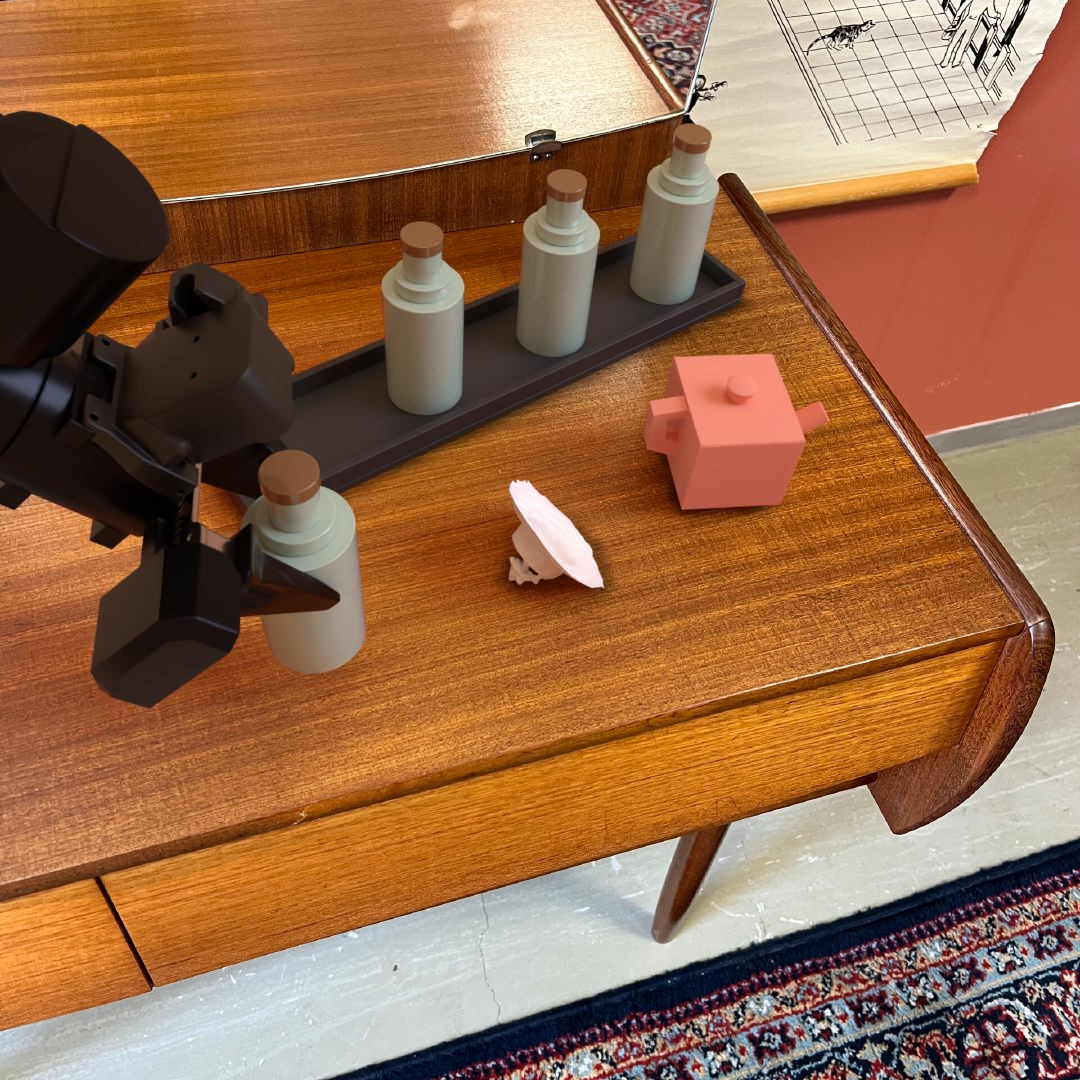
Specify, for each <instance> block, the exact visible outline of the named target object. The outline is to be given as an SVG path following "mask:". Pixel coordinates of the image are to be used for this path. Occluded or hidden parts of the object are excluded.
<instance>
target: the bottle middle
mask: <svg viewBox="0 0 1080 1080" xmlns="http://www.w3.org/2000/svg"><path fill="white" fill-rule="evenodd" d="M587 187H588V181H587V178H586V176H585V175H583V174H582V173H580V172H578V171H577V170H573V169H567V168H565V169H564V168H562V169H556V170H553V171H551V172H549V174H548V175H547V177H546V183H545V191H546V200H545V201H546V202H545V205H542V206H541V207H540V208H539V209H538V210H537V211H535V212H533V213H531V214H530V215H529V216H528V217H527V218H526V219H525V221H524V223H523V226H522V239H521V253H520V268H519V280H518V282H519V293H518V307H517V321H516V336H517V338H518V340H519V342H520V343H521V344H522V345H523V347H525V348H526V349H527V350H529V351H531V352H533V353H535V354H538V355H541V356H546V357H561V356H566V355H569V354H572V353H574V352H575V351H577V350H578V349H579V348H580V347H581V346H582V345H583V343H584V341H585V337H586V331H587V324H588V317H589V310H590V303H591V296H592V289H593V282H594V275H595V268H596V261H597V254H598V249H599V247H600V239H601V231H600V228H599V226H598V224H597V223H596V221H594V219H592V218H591V217H590V216H589V214H588V212H587V211H586V210H585V209H584V208H583V206H584V201H585V200H584V198H585V196H586V194H587V189H588V188H587Z"/></svg>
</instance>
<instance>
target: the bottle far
mask: <svg viewBox="0 0 1080 1080" xmlns="http://www.w3.org/2000/svg"><path fill="white" fill-rule="evenodd" d="M712 139H713V135H712V132H711V131H710V130H709V129H708V128H707V127H705V126H703V125H700V124H697V123H683V124H680V125H678V126H676V128H675V129H674V132H673V137H672V144H673V146H672V150H671V155H670V157H668V158H666V159H665V160H663V161H662V163H661V164H658V165H657V166H655V167H652V169H651V170H650V171H649V172H648V174H647V177H646V182H645V189H644V194H643V200H642V206H641V211H640V216H639V222H638V228H637V233H636V234H637V238H636V244H635V250H634V255H633V261H632V267H631V272H630V278H629V282H630V286H631V288H632V289H633V291H634V292H635V293H636V294H637V295H638V296H640V297H641V298H643V299H644V300H646V301H649V302H652V303H655V304H660V305H674V304H679V303H682V302H684V301H686V300H688V299H689V298H690V297H691V296H692V295H693V293H694V290H695V286H696V282H697V278H698V274H699V270H700V266H701V262H702V258H703V253H704V249H706V245H707V241H708V238H709V232H710V228H711V225H712V221H713V216H714V213H715V212H714V211H715V208H716V204H717V200H718V195H719V192H720V185H719V181H718V180H717V178H716V177H715V176H714V175H713V173H711V169H710V167H709V166H708V165H707V163H706V160H707V155H708V151H709V149H710V148H711V145H712Z"/></svg>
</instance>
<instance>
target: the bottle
mask: <svg viewBox="0 0 1080 1080" xmlns="http://www.w3.org/2000/svg"><path fill="white" fill-rule="evenodd" d="M258 480H259V485H260V489H261V492H262V494H263V495H262V496H261V497H259V498H258V499H257V500H256V501H254V502H253V503H252V504H251V506H250V507H249V508H248V509H247V511H246V513H245V514H244V517H243V516H242V519H241V523H240V528H239V531H240V530H241V529H242V528H243V527H245V526H246V525H247V524H249V523H252V524H253V525H254V528H255V532H256V536H257V539H258V543H259V547H260V549H261V551H262V552H264V553H266V554H268V555H270V556H272V557H274V558H276V559H278V560H280V561H282V562H284V563H286V564H288V565H290V566H292V567H294V568H296V569H298V570H300V571H302V572H304V573H306V574H308V575H310V576H312V577H314V578H316V579H318V580H320V581H322V582H323V583H325V584H327V585H328V586H330V587H331V588H333V589H334V590H336V591H337V592H339V593H340V602H339V603H338V604H336V605H335V606H333V607H332V608H330V609H329V610H325V611H313V612H300V613H287V614H274V615H261V616H259V617H260V621H261V625H262V629H263V634H264V636H265V641H266V645H267V648H268V650H269V652H270V654H271V655H272V657H273V658H274V659H275V660H276V661H277V662H278V663H279V664H281V665H282V666H284V667H285V668H288V669H289V670H291V671H294V672H296V673H297V672H298V673H302V674H323V673H327V672H331V671H333V670H336V669H338V668H340V667H342V666H344V665H346V664H347V663H348V662H350V661H351V660H353V658H354V657H355V656H356V655H357V653H358V652H359V651H360V649H361V648H362V646H363V644H364V642H365V639H366V634H367V622H366V621H367V620H366V610H365V601H364V591H363V590H364V589H363V583H362V582H363V581H362V572H361V562H360V553H359V543H358V533H357V532H358V531H357V523H356V522H357V521H356V516H355V514H354V513H355V512H354V511H353V508H352V507H351V506H350V504H349V503H348V501H347V500H346V499H345V497H343V496H342V495H340V494H337V493H336V492H334V491H332V490H330V489H328V488H326V487H322V486H320V485H321V477H320V470H319V465H318V463H317V462H316V460H315V459H314V458H313V457H312V456H310V455H309V454H307V453H305V452H302V451H298V450H283V451H279V452H276V453H274V454H272V455H270V456H269V457H267V458H266V459H265V460H264V461H263V462H262V464H261V465H260V467H259V470H258Z"/></svg>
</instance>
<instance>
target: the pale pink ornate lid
mask: <svg viewBox="0 0 1080 1080" xmlns="http://www.w3.org/2000/svg"><path fill="white" fill-rule="evenodd" d="M508 488H509V489H508V490H509V491H508V492H509V494H510V496H511V504H512V509H513V511H514V513H515V514H516V516H517V518H518V519H519V520H520V522H521V523H520V525H519V526H518V527H517V528H516V530H515V531H514V532H513V533H512V535H511V538H512V540H511V541H512V544H513V545H514V547H515V550H516V552H517V553H518V554H519V556H520V557H521V558H522V559H523V560H521V559H520V558H518V557H515V556H510V557H509V561H510V568H509V569H510V570H509V572H508V581H511V582H513V581H515V582H516V584H517V585H518V586H519V585H522V584H523V583H524V582H532V583H533V584H534V585H537V584H538V583H539V582H540V580H542V579H543V580H545V581H546V580H554V579H555V578H558V577H559V576H561V575H562V574H565V575H566V576H568V577H570V578H571V579H573V580H574V581H576V582H578V583H581V584H582V585H585V586H586V587H589V588H592V589H594V588H603V589H605V587H604V579H603V577H602V575H601V573H600V570H599V567H598V564H597V562H596V560H595V559H594V557H593V556H594V554H593V548H592V547H591V545H590V544H589V543H588V542H587V541H586V540H585V538H584V537H583V535H582V534H581V533H580V532H579V530H578V529H577V528H576V526H575V525H574V523H573V522H572V520H571V519H570V518H569V517H568V516H566V515H565V514H564V513H563V512H562V511H561V510H560V509H558V507H556V506H555V505H554V503H552V502H551V500H549V498H547V497H546V496H545V495H542V494H541V493H540V492H539V491H538V490H537V489H536V488H535V487H534V486H533V484H532V483H531V482H530V481H529V480H527V481H526V479H525V480H519V479H518V478H517V479H516V481H514V480H512V481H511V483H510V485H509V487H508ZM530 568H531V569H532V570H534V571H535V573H537V575H536V574H533V571H531V570H530Z"/></svg>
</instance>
